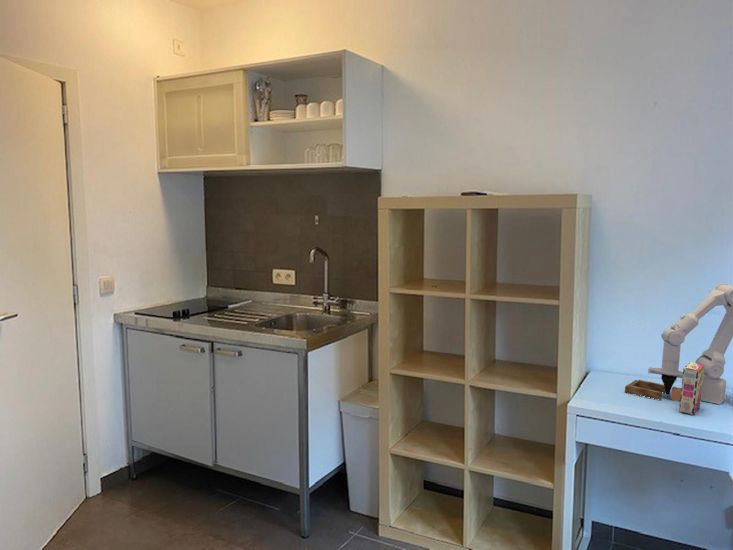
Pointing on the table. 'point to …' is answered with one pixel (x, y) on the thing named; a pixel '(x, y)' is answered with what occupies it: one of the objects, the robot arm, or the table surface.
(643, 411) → the table surface
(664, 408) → the table surface
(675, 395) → the cube
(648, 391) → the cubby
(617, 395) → the table surface
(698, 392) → the candy bar box
